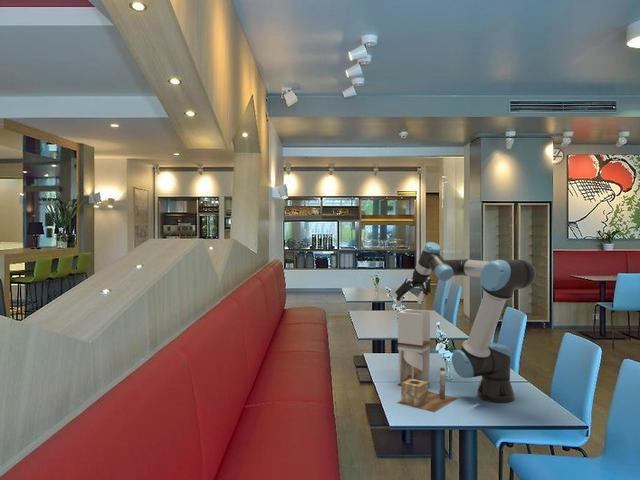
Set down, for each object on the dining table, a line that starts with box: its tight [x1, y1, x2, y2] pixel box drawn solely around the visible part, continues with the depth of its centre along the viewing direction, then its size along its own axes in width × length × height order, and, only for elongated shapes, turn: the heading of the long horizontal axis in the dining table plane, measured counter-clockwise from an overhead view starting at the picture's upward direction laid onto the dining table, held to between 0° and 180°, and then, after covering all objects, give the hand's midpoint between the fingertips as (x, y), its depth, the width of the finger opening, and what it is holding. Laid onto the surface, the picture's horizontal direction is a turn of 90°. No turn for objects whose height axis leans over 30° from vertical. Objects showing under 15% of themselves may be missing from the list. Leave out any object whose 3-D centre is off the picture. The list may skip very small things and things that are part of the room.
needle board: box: [396, 367, 459, 413], centre depth 216 cm, size 17×22×15 cm
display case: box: [397, 308, 431, 388], centre depth 238 cm, size 11×11×35 cm
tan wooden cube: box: [400, 379, 429, 406], centre depth 214 cm, size 8×8×8 cm
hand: (407, 303), depth 262 cm, fingers open, 13 cm apart
